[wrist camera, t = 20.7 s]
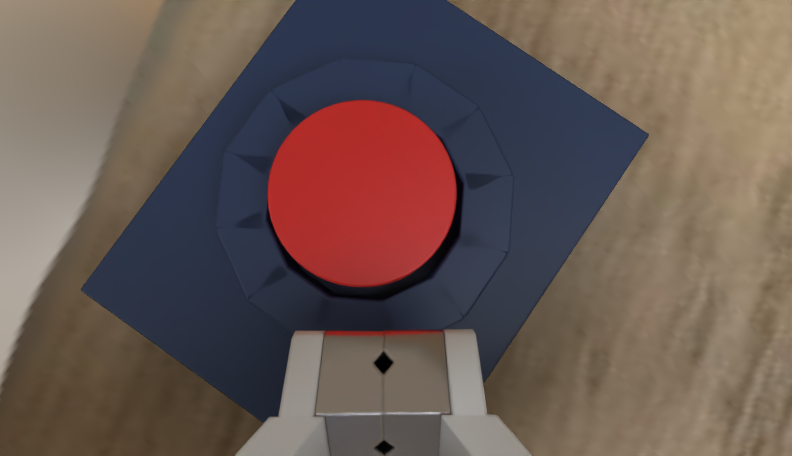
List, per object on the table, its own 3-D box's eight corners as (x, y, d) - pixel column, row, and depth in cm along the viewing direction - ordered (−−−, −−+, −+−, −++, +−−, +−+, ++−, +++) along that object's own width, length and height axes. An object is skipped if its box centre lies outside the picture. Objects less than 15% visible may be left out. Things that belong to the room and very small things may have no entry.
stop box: (394, 477, 18) (394, 550, 13) (132, 289, 19) (37, 290, 14) (607, 159, 19) (683, 115, 14) (353, -10, 20) (338, -112, 15)
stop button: (386, 320, 14) (385, 325, 12) (248, 224, 14) (228, 215, 12) (481, 182, 14) (494, 168, 13) (346, 90, 14) (339, 63, 13)
